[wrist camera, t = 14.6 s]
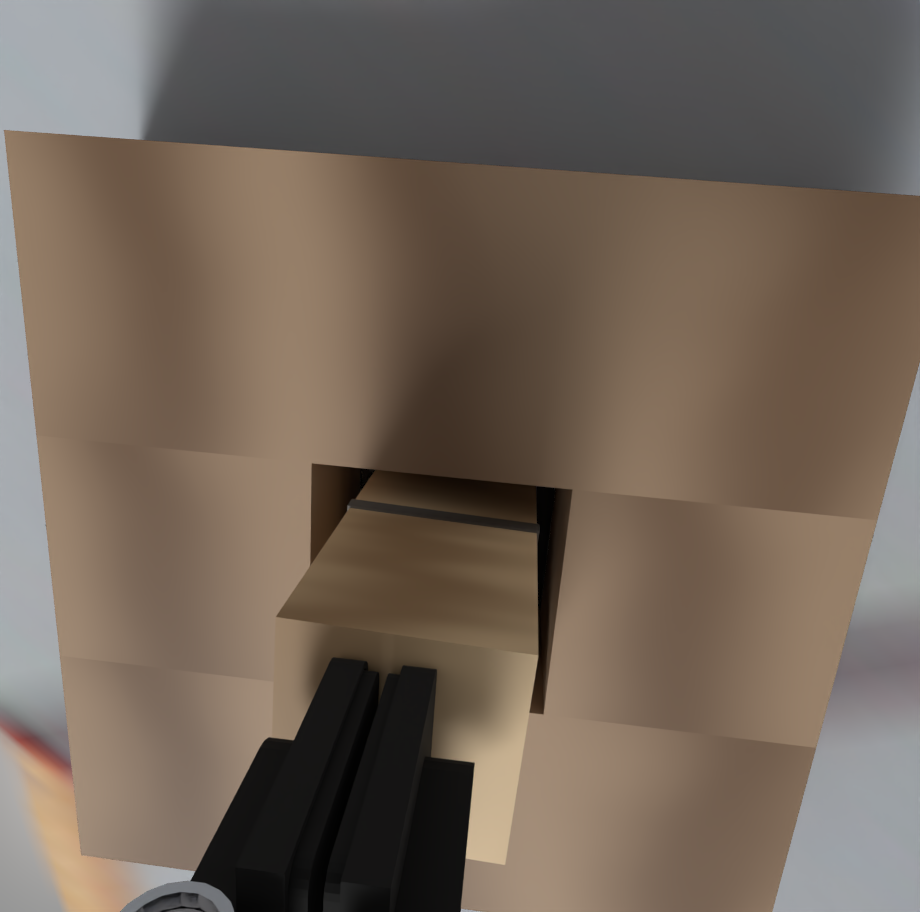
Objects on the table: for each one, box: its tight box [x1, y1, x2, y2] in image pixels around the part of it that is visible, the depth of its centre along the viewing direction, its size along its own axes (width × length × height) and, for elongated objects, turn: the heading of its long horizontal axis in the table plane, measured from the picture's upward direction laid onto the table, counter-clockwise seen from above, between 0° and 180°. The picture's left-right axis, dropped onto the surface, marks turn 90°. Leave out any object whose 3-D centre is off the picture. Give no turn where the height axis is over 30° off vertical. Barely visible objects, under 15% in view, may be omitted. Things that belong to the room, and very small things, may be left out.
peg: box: [272, 470, 540, 865], centre depth 16 cm, size 4×4×10 cm
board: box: [4, 130, 920, 912], centre depth 18 cm, size 18×18×5 cm
